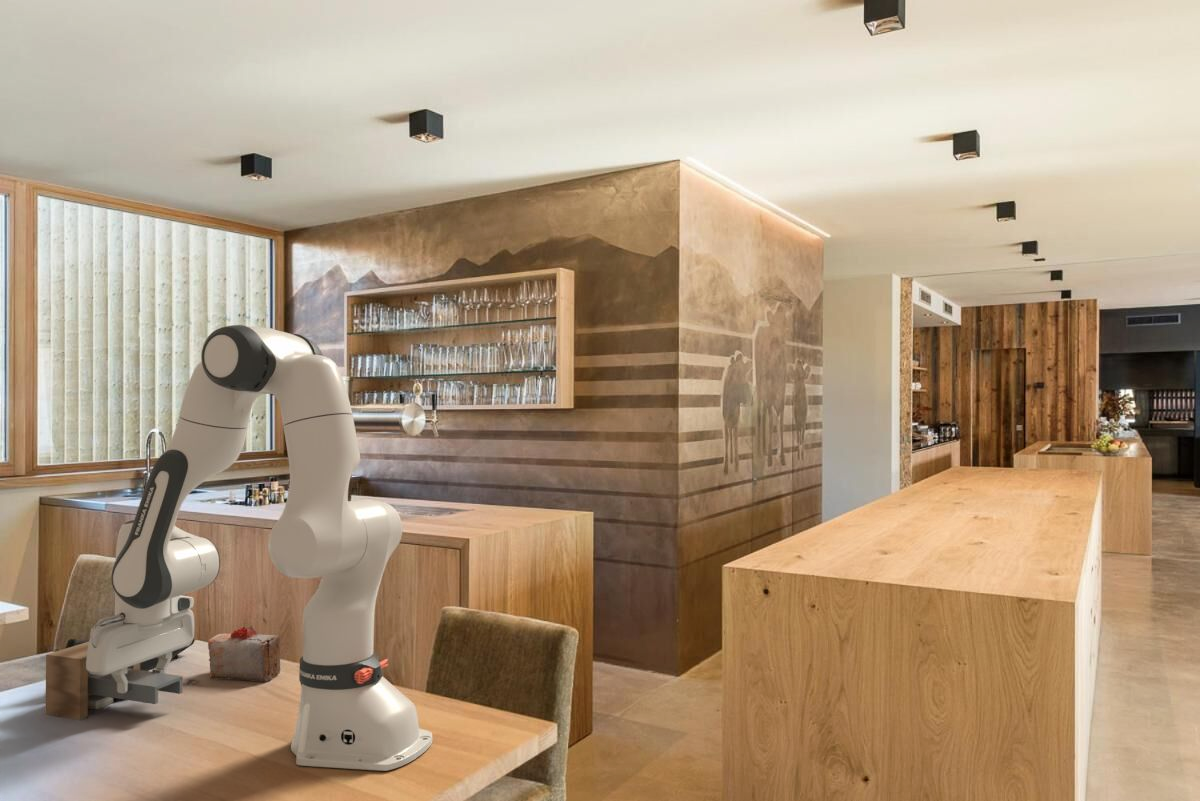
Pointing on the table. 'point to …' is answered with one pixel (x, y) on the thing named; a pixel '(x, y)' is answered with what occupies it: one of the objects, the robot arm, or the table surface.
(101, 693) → the grey channel riser
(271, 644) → the food item
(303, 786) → the table surface
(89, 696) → the wooden arch
